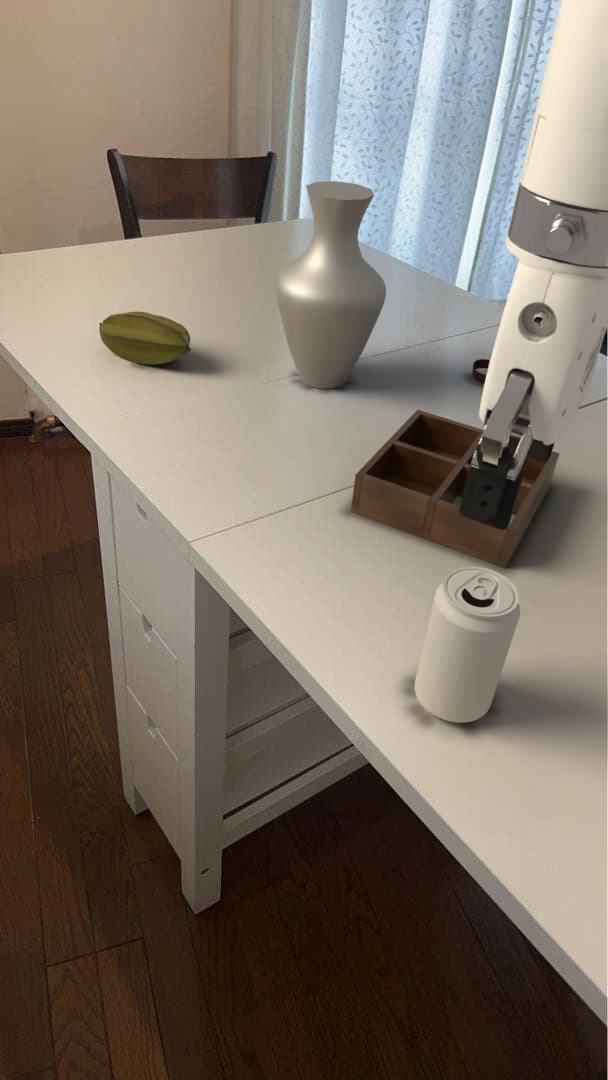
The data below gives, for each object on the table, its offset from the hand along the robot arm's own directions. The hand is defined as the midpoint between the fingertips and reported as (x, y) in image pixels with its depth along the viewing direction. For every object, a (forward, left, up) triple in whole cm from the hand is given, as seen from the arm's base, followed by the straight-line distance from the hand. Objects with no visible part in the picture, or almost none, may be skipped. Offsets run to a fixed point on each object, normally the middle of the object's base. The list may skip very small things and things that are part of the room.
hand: (506, 485), depth 54 cm
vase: (+36, -45, -21) cm, 61 cm away
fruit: (+59, -35, -21) cm, 72 cm away
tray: (+10, -27, -21) cm, 36 cm away
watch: (+15, -59, -21) cm, 65 cm away
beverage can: (0, +1, -21) cm, 21 cm away
